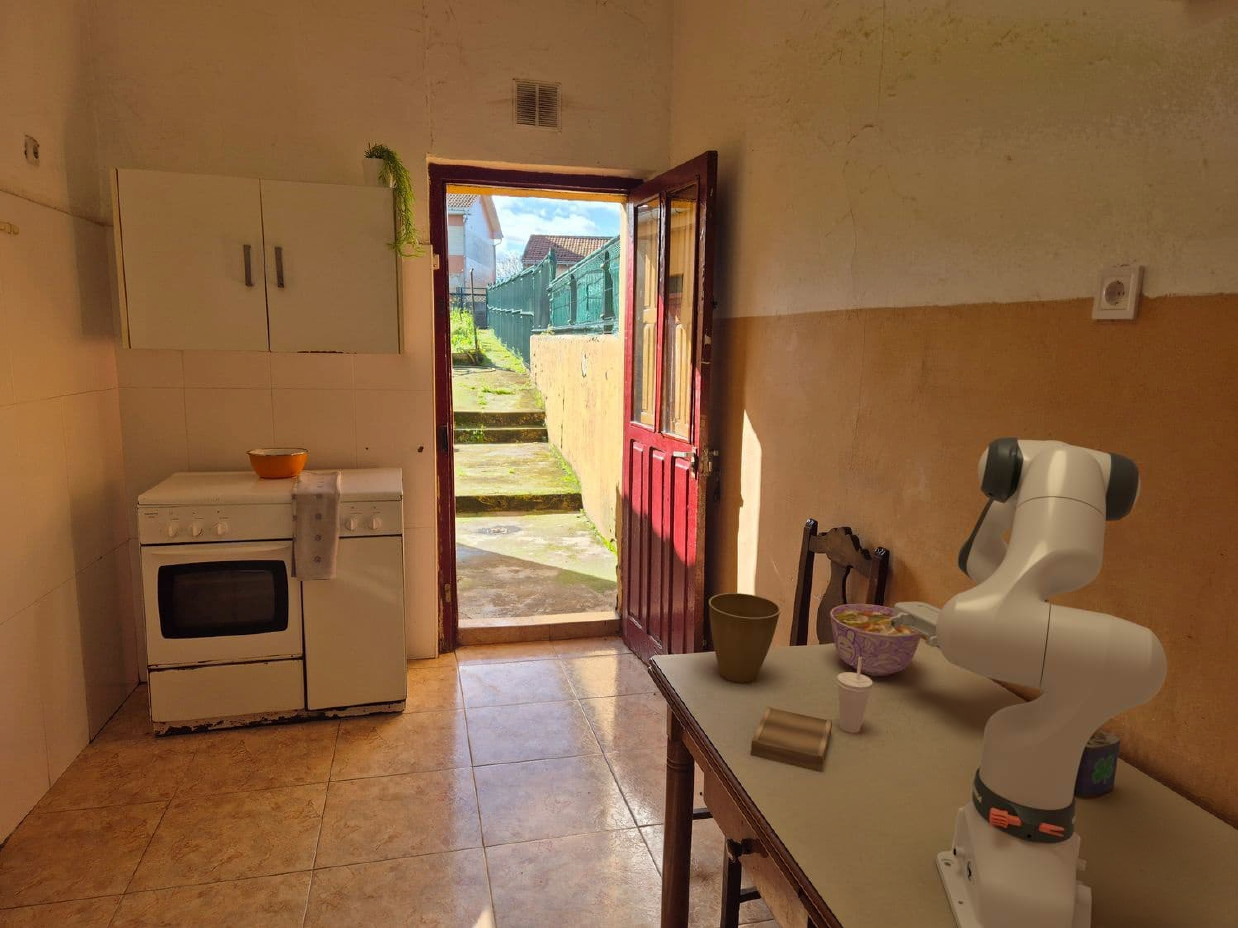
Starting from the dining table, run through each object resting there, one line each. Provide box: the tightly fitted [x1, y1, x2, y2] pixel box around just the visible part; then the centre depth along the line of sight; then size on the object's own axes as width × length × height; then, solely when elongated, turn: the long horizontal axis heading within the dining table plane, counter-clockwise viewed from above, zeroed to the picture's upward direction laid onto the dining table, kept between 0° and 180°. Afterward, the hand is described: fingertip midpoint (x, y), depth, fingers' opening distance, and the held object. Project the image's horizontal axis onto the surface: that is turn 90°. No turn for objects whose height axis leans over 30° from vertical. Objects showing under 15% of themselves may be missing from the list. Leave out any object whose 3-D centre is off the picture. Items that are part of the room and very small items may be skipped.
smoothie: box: [836, 657, 873, 734], centre depth 144 cm, size 6×6×14 cm
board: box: [750, 706, 833, 772], centre depth 138 cm, size 14×12×3 cm
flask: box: [1073, 728, 1121, 800], centre depth 127 cm, size 9×3×11 cm, turn 114°
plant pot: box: [708, 592, 781, 684], centre depth 164 cm, size 15×15×16 cm
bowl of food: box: [829, 603, 923, 677], centre depth 172 cm, size 20×20×12 cm
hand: (909, 631), depth 148 cm, fingers open, 8 cm apart
